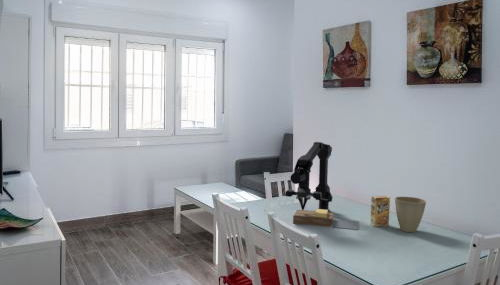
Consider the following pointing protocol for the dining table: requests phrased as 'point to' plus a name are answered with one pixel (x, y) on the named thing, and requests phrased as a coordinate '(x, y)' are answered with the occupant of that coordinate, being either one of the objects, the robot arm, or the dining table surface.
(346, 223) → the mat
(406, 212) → the plant pot
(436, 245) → the dining table surface
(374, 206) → the candy box
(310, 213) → the brown wooden flat block
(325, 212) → the yellow rectangular block
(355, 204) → the dining table surface
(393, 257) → the dining table surface
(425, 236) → the dining table surface
